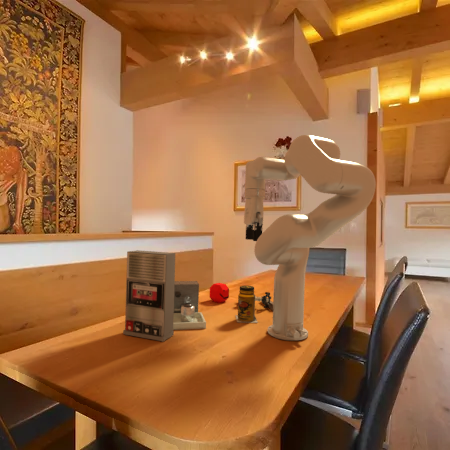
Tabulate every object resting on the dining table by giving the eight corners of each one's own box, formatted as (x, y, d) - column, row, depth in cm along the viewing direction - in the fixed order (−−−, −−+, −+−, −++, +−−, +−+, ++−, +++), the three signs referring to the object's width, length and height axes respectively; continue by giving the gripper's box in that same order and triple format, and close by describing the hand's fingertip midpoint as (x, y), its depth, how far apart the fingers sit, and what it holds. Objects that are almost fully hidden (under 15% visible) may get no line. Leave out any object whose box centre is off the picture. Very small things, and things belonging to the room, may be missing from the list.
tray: (205, 328, 101) (206, 322, 101) (171, 329, 99) (171, 323, 99) (201, 317, 112) (201, 312, 112) (169, 318, 110) (169, 313, 110)
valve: (239, 307, 130) (265, 311, 124) (237, 292, 129) (264, 295, 123) (246, 301, 136) (271, 305, 129) (245, 287, 135) (270, 289, 129)
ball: (219, 304, 131) (220, 286, 131) (206, 301, 136) (206, 283, 136) (231, 301, 137) (232, 284, 137) (218, 298, 142) (218, 281, 142)
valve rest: (276, 310, 124) (276, 304, 124) (247, 311, 122) (247, 305, 122) (264, 301, 138) (264, 296, 138) (238, 302, 135) (238, 296, 135)
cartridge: (196, 322, 105) (197, 305, 105) (185, 325, 102) (186, 307, 102) (189, 318, 109) (190, 301, 108) (178, 320, 106) (178, 303, 106)
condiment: (237, 322, 108) (238, 288, 108) (235, 315, 116) (236, 283, 116) (257, 323, 108) (259, 288, 108) (254, 316, 117) (255, 284, 116)
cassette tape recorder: (122, 335, 93) (125, 251, 93) (135, 328, 99) (137, 250, 98) (162, 342, 88) (165, 254, 88) (173, 335, 94) (176, 253, 94)
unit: (198, 317, 112) (199, 284, 112) (170, 318, 110) (171, 284, 110) (195, 312, 119) (196, 280, 119) (169, 313, 116) (170, 281, 116)
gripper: (239, 196, 124) (237, 238, 124) (251, 192, 107) (250, 241, 107) (257, 196, 126) (255, 239, 126) (272, 193, 109) (270, 242, 109)
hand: (253, 240), depth 117 cm, fingers open, 9 cm apart
